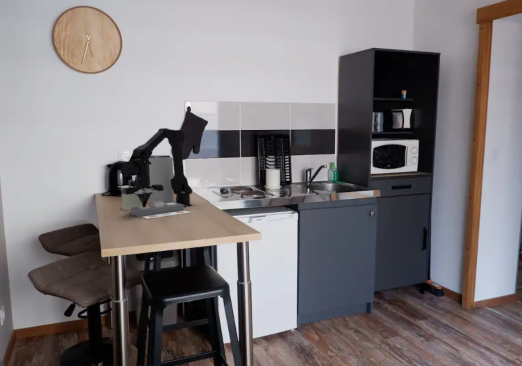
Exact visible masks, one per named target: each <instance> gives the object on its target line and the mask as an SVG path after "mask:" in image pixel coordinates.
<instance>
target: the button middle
mask: <svg viewBox="0 0 522 366" xmlns="http://www.w3.org/2000/svg"><path fill="white" fill-rule="evenodd" d="M150 205H151V207H155V208H156V207H163V206H164V202H161V201H157V202H151V201H150Z"/></svg>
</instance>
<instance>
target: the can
mask: <svg viewBox="0 0 522 366" xmlns="http://www.w3.org/2000/svg"><path fill="white" fill-rule="evenodd" d="M125 187H129V186H128V185H122V186H121V191H122V189H123V188H125ZM121 201H122V204H121V205H122V206H121V207H122V210H123V211H131V208H134V207H142V206H141V205H142V204H141V201H140V199H139V197H138V196H137V195H136V194H129V195H126V194H122V193H121Z"/></svg>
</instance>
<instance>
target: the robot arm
mask: <svg viewBox="0 0 522 366" xmlns="http://www.w3.org/2000/svg"><path fill="white" fill-rule="evenodd" d="M165 139H167V142H168V145H170V147H171V152H172V153H171V155H172V158H173V179H171V187H172V189H173V192H174V195H175V203H179V204H183V205H184V207H188V206H192V203H191V195H193V189H192V188H191V186H190V185H189V182H188V178H187V176H186V175H185V172H184V171H185V170H184V162H183V161H184V160H183V148H182V147H183V144H184V143H185V132H184V131H183V130H181V129H170V128H167V127H162V128H159V129H158V130H157V131H156V132H155V134H153V135H152V136H151V137H150V138H149V139H148V140H147V141H146V142H145V143H143V144H141V145H138V146H137V147H136V148H134V149H133V150H132V154H131V156H130V158H129V160H128V161H123V164H122V165H121V168H120V173H121V175H122V176H123V177H132V176H135V177H134V180H133V179H128V181H127V186H129V187H125V188H123V189H122V190H121V195H122V194H126V195H129V194H136V195H137V196H138V197H139V199H140V205H142V206H143V207H146V206H147V204H148V202H149V199H150V198H151V194H153V192H151V190H157V191H164V187H163V185H160V184H155V185H151V187H150V172H149V164H152V163H151V162H150V161H149V158H151V156H152V155H153V151H154V150H155V148H157V146H159V145H160V144H161V143H162V142H163V141H164V140H165ZM142 206H141V207H142Z"/></svg>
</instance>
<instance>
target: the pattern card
mask: <svg viewBox="0 0 522 366" xmlns="http://www.w3.org/2000/svg"><path fill="white" fill-rule="evenodd" d="M184 214H191V211H187V210H184V211H178V212H171V213H164V214H157V215H150V216H144V217H142V219H146V220H150V219H157V218H165V217H172V216H177V215H184Z"/></svg>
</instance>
